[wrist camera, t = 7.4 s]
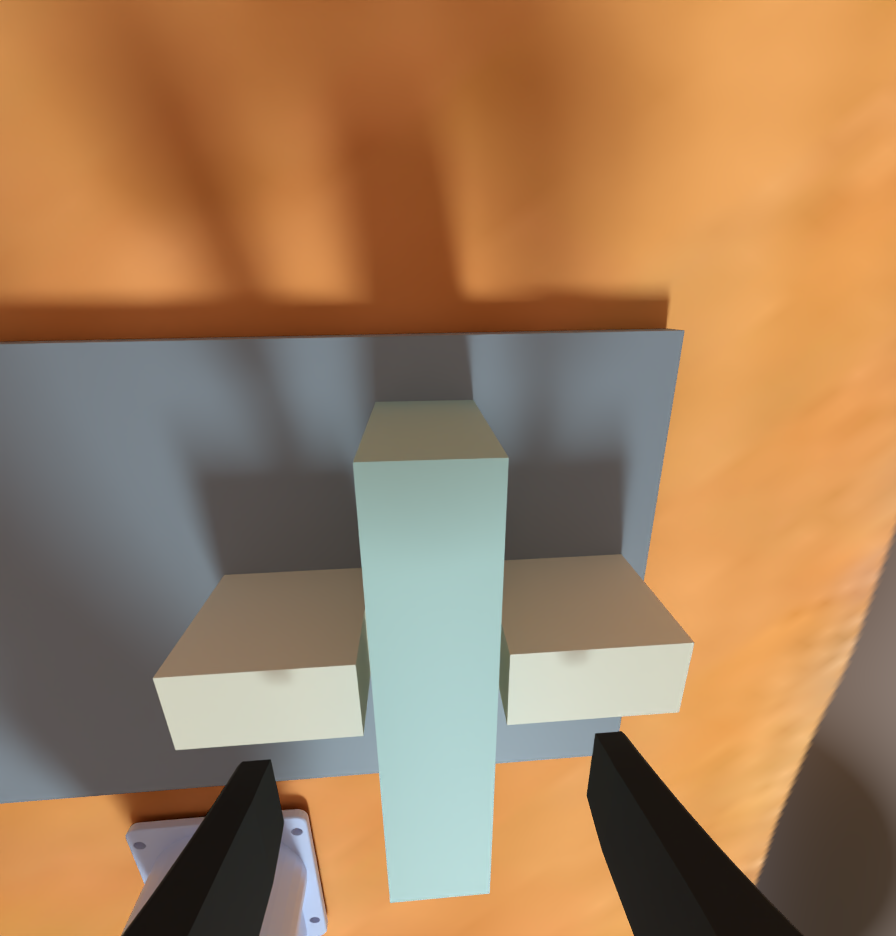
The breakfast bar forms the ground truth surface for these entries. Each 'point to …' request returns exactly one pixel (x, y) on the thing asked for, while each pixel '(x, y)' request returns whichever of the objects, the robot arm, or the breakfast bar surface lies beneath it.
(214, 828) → the robot arm
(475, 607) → the cross plate
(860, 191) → the breakfast bar surface
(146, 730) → the slotted base
